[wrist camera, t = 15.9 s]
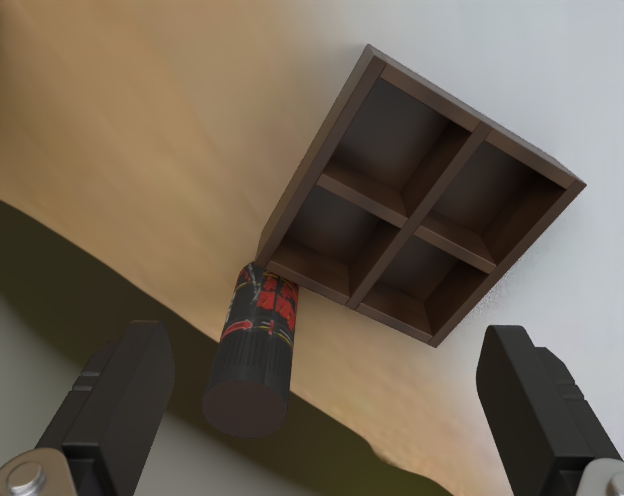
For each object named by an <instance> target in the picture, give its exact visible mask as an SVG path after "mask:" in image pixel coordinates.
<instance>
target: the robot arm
mask: <svg viewBox="0 0 624 496" xmlns="http://www.w3.org/2000/svg"><path fill="white" fill-rule="evenodd" d="M174 379H175V366H174V361H173V356H172V351H171V347H170V343H169V338H168V333H167V329H166V326H165V323H164V322H163V321H143V320H139V321H138V320H133V321H131V322H130V323H129V324H128V326H127V327H126V330H125V331H124V333H123V335H122V336H121V338H120V340H119V341H108V342H107V343H106V344H105V345H104V346H102V347H101V348H100V349H99V350H98V351H96V352H95V353H94V354H93V355H92V356H91V357H90V359H89V360H88V362H87V364H86V365H85V367H84V369H83V370H82V372H81V376H79V377H78V379H77V380H76V382H75V383H74V385H73V386H72V391H69V393H68V395H67V396H66V398H65V399H64V401H63V403H62V404H61V406H60V408H59V409H58V411H57V412H56V414H55V416H54V417H53V419H52V421H51V422H50V424H49V425H48V427H47V429H46V430H45V432H44V434H43V435H42V437H41V439H40V440H39V442H38V443H37V445H36V446H35V448H34V449H32V450H29V451H26V452H24V453H21V454H19V455H18V456H16V457H14V458H12V459H11V460H9V461H8V462H7V463H5V464H4V465H3V466H2V467H1V468H0V496H133V495H134V492H135V489H136V486H137V484H138V481H139V479H140V476H141V473H142V470H143V468H144V465H145V462H146V460H147V457H148V454H149V452H150V449H151V446H152V443H153V441H154V438H155V435H156V433H157V430H158V427H159V425H160V422H161V419H162V416H163V414H164V411H165V408H166V406H167V403H168V400H169V398H170V395H171V392H172V389H173V385H174ZM476 386H477V392H478V396H479V399H480V401H481V404H482V407H483V410H484V413H485V415H486V418H487V421H488V424H489V427H490V429H491V432H492V435H493V438H494V441H495V443H496V446H497V449H498V452H499V455H500V457H501V460H502V463H503V466H504V469H505V471H506V474H507V477H508V480H509V483H510V485H511V488H512V491H513V494H514V496H624V461H623V459H622V458H621V456H620V455H619V453H618V451H617V450H616V448H615V446H614V445H613V443H612V442H611V440H610V438H609V437H608V435H607V433H606V432H605V430H604V428H603V427H602V425H601V423H600V422H599V420H598V418H597V417H596V415H595V413H594V412H593V410H592V409H591V407H590V405H589V404H588V402H587V400H584V395H583V394H582V392H581V390H580V389H579V387H578V385H575V380H574V379H573V377H572V376H571V374H570V372H569V371H568V369H567V367H566V366H565V364H564V363H563V362H562V361H561V360H560V359H559V358H557V357H556V356H555V355H554V354H553V353H552V352H551V351H549V350H548V349H547V348H546V347H535V346H534V344H533V343H532V341H531V339H530V337H529V335H528V334H527V332H526V330H525V329H524V328H523V327H522V326H516V325H489V326H488V327H487V329H486V332H485V337H484V341H483V345H482V349H481V353H480V358H479V362H478V366H477V371H476Z"/></svg>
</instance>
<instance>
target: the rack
mask: <svg viewBox="0 0 624 496" xmlns="http://www.w3.org/2000/svg"><path fill="white" fill-rule="evenodd" d="M586 186H587V184H586V183H584V182H583V181H582V180H581V179H579V178H578V177H577V176H576V175H575V174H573V173H572V172H571V171H570V170H568V169H567V168H566V167H565V166H564V165H562V164H561V163H560V162H559V161H557V160H556V159H555V158H553V157H552V156H550V155H548V154H547V153H545V152H543V151H542V150H540V149H539V148H537V147H535V146H534V145H532V144H530V143H529V142H527V141H526V140H524V139H522V138H521V137H519V136H517V135H516V134H514V133H513V132H511V131H509V130H508V129H506V128H504V127H503V126H501V125H500V124H498V123H496V122H495V121H493V120H491V119H490V118H488V117H487V116H485V115H483V114H482V113H480V112H478V111H477V110H475V109H474V108H472V107H470V106H469V105H467V104H465V103H464V102H462V101H461V100H459V99H457V98H456V97H454V96H452V95H451V94H449V93H448V92H446V91H444V90H443V89H441V88H439V87H438V86H436V85H435V84H433V83H431V82H430V81H428V80H426V79H425V78H423V77H422V76H420V75H418V74H417V73H415V72H413V71H412V70H410V69H409V68H407V67H405V66H404V65H402V64H400V63H399V62H397V61H396V60H394V59H392V58H391V57H389V56H387V55H386V54H384V53H383V52H381V51H379V50H378V49H376V48H374V47H373V46H371V45H370V44H367V46H366V48H365V49H364V51H363V53H362V55H361V56H360V58H359V60H358V62H357V64H356V65H355V67H354V69H353V71H352V72H351V74H350V76H349V78H348V80H347V81H346V83H345V85H344V87H343V88H342V90H341V92H340V94H339V96H338V97H337V99H336V101H335V103H334V104H333V106H332V108H331V110H330V112H329V113H328V115H327V117H326V119H325V120H324V122H323V124H322V126H321V128H320V129H319V131H318V133H317V135H316V136H315V138H314V140H313V142H312V144H311V145H310V147H309V149H308V151H307V152H306V154H305V156H304V158H303V160H302V161H301V163H300V165H299V167H298V168H297V170H296V172H295V174H294V176H293V177H292V179H291V181H290V183H289V184H288V186H287V188H286V190H285V192H284V193H283V195H282V197H281V199H280V200H279V202H278V204H277V206H276V208H275V209H274V211H273V213H272V215H271V216H270V218H269V220H268V222H267V224H266V225H265V227H264V229H263V231H262V233H261V237H260V241H259V245H258V249H257V253H256V257H255V261H254V264H255V265H257V266H259V267H262V268H264V269H266V270H268V271H270V272H272V273H274V274H277V275H279V276H281V277H283V278H285V279H287V280H290V281H292V282H294V283H296V284H298V285H300V286H303V287H305V288H307V289H309V290H311V291H313V292H316V293H318V294H320V295H322V296H324V297H326V298H329V299H331V300H333V301H335V302H337V303H339V304H342V305H345V306H346V307H348V308H350V309H352V310H355V311H357V312H359V313H361V314H363V315H366V316H368V317H370V318H372V319H374V320H376V321H379V322H381V323H383V324H385V325H387V326H389V327H392V328H394V329H396V330H398V331H400V332H402V333H405V334H407V335H409V336H411V337H413V338H415V339H418V340H420V341H422V342H424V343H427V344H428V345H430V346H432V347H435V348H437V346H438V345H439V344H440V343H441V342H442V341H443V340H444V339H445V338H446V337H447V336H448V335H449V334H450V332H451V331H452V330H453V329H454V328H455V327H456V326H457V325H458V324H459V323H460V322H461V321H462V320H463V318H464V317H465V316H466V315H467V314H468V313H469V312H470V311H471V310H472V309H473V308H474V307H475V306H476V304H477V303H478V302H479V301H480V300H481V299H482V298H483V297H484V296H485V295H486V294H487V293H488V291H489V290H490V289H491V288H492V287H493V286H494V285H495V284H496V283H497V282H498V281H499V280H500V279H501V277H502V276H503V275H504V274H505V273H506V272H507V271H508V270H509V269H510V268H511V267H512V266H513V265H514V263H515V262H516V261H517V260H518V259H519V258H520V257H521V256H522V255H523V254H524V253H525V252H526V250H527V249H528V248H529V247H530V246H531V245H532V244H533V243H534V242H535V241H536V240H537V239H538V238H539V236H540V235H541V234H542V233H543V232H544V231H545V230H546V229H547V228H548V227H549V226H550V225H551V224H552V222H553V221H554V220H555V219H556V218H557V217H558V216H559V215H560V214H561V213H562V212H563V211H564V209H565V208H566V207H567V206H568V205H569V204H570V203H571V202H572V201H573V200H574V199H575V198H576V197H577V195H578V194H579V193H580V192H581V191H582V190H583V189H584V188H585V187H586Z"/></svg>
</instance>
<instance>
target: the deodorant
mask: <svg viewBox="0 0 624 496" xmlns="http://www.w3.org/2000/svg"><path fill="white" fill-rule="evenodd" d="M298 289H299V285H298V284H296V283H294V282H292V281H290V280H287V279H285V278H283V277H281V276H279V275H277V274H274V273H272V272H270V271H268V270H266V269H264V268H262V267H259V266H257V265H255V264H254V262H251V263H250V264H248V265H247V266H245V267H244V268H243V270H242V271H241V272H240V274H239V277H238V280H237V283H236V287H235V290H234V294H233V297H232V301H231V304H230V307H229V311H228V314H227V318H226V321H225V325H224V328H223V331H222V335H221V338H220V342H219V345H218V349H217V352H216V355H215V359H214V362H213V366H212V369H211V373H210V376H209V379H208V383H207V387H206V390H205V394H204V397H203V400H202V411H203V414H204V416H205V418H206V419H207V421H208V422H209V423H210V424H211V425H212V426H214V427H215V428H216V429H218V430H219V431H222V432H223V433H225V434H228V435H232V436H235V437H242V438H257V437H262V436H266V435H269V434H271V433H273V432H275V431H277V430H278V429H279V428H280V427H281V426H282V425H283V424H284V422H285V420H286V417H287V411H288V400H289V389H290V378H291V367H292V355H293V344H294V333H295V322H296V311H297V300H298Z"/></svg>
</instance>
